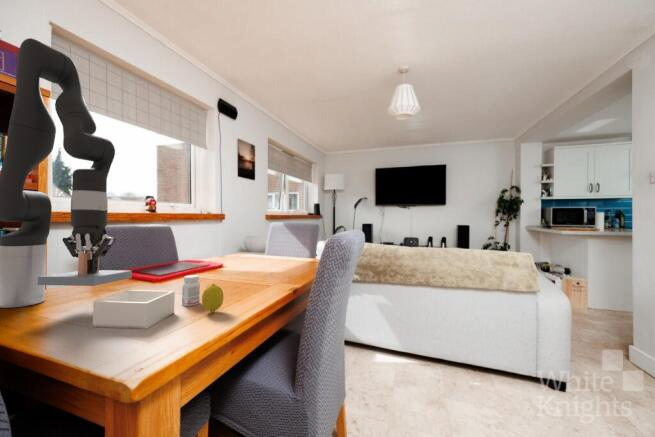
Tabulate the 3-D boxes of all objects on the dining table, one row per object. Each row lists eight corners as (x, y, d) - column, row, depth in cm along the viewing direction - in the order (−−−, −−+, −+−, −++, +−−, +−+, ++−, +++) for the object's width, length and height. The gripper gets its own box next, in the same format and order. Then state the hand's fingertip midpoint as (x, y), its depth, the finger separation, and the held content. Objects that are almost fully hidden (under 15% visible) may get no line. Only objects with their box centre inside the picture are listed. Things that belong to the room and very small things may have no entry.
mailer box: (92, 326, 65) (93, 301, 65) (128, 311, 76) (128, 289, 76) (145, 328, 65) (146, 303, 65) (174, 313, 76) (174, 291, 76)
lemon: (214, 308, 81) (215, 280, 81) (227, 311, 78) (228, 283, 78) (197, 313, 76) (197, 284, 76) (210, 317, 73) (210, 287, 73)
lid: (37, 285, 68) (39, 254, 69) (83, 277, 81) (85, 251, 81) (93, 285, 68) (95, 254, 68) (131, 277, 80) (132, 251, 80)
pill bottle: (202, 302, 86) (203, 275, 86) (193, 306, 82) (194, 278, 82) (188, 301, 87) (188, 274, 87) (178, 305, 82) (179, 277, 82)
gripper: (51, 207, 71) (50, 275, 71) (102, 208, 70) (101, 276, 70) (78, 209, 79) (77, 270, 78) (124, 209, 78) (124, 271, 78)
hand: (88, 272), depth 74 cm, fingers closed on lid, 1 cm apart
